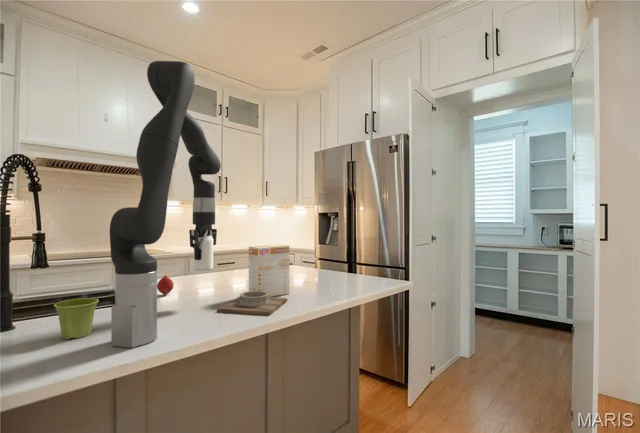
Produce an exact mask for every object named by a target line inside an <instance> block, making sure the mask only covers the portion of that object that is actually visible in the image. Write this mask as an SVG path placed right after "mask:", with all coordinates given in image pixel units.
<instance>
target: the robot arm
mask: <svg viewBox="0 0 640 433" xmlns="http://www.w3.org/2000/svg"><path fill="white" fill-rule="evenodd" d="M146 73H147V74H146V75H147V76H146V77H147V80H148V81H147V82H148V85H149V87H150V88H151V90H152V92H153V94H154V95H155V97H156V99H157V100H158V102H159V103H160V104H161V106H162V108H161V110H159V111H158V112H157V114H155V116H153V117H151V119H150V120H149V121H148V122H147V123H146V125H145V126H144V127H143V129H142V131H141V133H140V137H139V142H138V144H137V147H136V148H137V149H136V155H135V156H136V163H137V168H138V170H139V173H140V176H141V182H142V189H141V193H140V197H139V198H140V200H139V202H138V205H137V206H134V207H133V206H132V207H129V206H128V207H123V208H119V209H118V210H116V211H115V212H114V214H113V215H112V217H111V220H110V223H109V245H110V258H111V261H112V263H113V266H114V305H112V306H111V321H110V322H111V329H110V330H111V331H110V332H111V336H110V338H111V344H110V345H111V347H120V348H129V349H131V348H132V349H133V348H136V347H139V346H143V345H147V344H149V343H152V342H154V341H155V340H156V339H157V337H158V288H157V284H158V261H157V259H156V258H155V257H153V256H152V255H151V254H149V253H148V251H147V249H146V245H147V246H148V245H154V244H155V243H157V242H158V241H160V239H161V237H162V235H163V233H164V230H165V227H166V220H167V211H168V210H167V209H168V198H169V191H170V186H171V180H172V175H173V170H174V166H175V162H176V158H177V154H178V150H179V143H180V138H181V140H182V143H183V144H184V146H185V148H186V151H187V152H188V153H189V154H190V155H191V156H190V157H189V158H188V164H187V165H188V170H189V172H190V175H191V181H192V185H193V199H192V200H193V201H192V225H193V226H194V225H195V228H194V229H189V231H188V232H189V246H190V248H192V249H193V260H194V259H195V260H201V253H202V249H201V248H202V243H203V242H204V239H205V235H212V238H213V247H214V246H216V245H217V233H218V230H217V228H213V226H214V225H216V201H215V200H216V199H215V198H216V196H215V195H216V186H215V182H212V181H210V180H205V179H203V177H202V176H203V175H205V176H206V175H208V176H209V175H217V174H218V173H219V172H220V170H221V167H222V166H221V160H220V158H219V156H218V155H217V154H216V152H215V150H214V149H213V148H212V147H211V146H210V144H209V143H208V141H207V139H206V138H207V137H206V136H205V133H204V130H203V128H202V126H201V124H200V123H199V122H198V121H197V120H196V119H195V118H194V116H192V115H191V114H190V113H189V112H188V107H189V105H190V102H191V100H192V96H193V93H194V88H195V82H196V81H195V74H194V73H195V72H194V69H193V67H192V66H191V65H190V64H189V63H187V62H184V61H179V60H169V61H168V60H155V61H151V62H150V63H149V65H148V67H147V70H146ZM198 237H202V239H201V240H198ZM198 242H200V243H198Z"/></svg>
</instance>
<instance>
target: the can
mask: <svg viewBox="0 0 640 433" xmlns="http://www.w3.org/2000/svg"><path fill="white" fill-rule="evenodd" d="M201 239H202V237H198V240H201ZM213 240H214V239H213V238H212V235H205V239H204V242H203V243H202V248H201V249H202V253H201V260H195V259H194V258H193V270H194V271H196V272H198V271H199V272H201V271H202V272H203V271H210V270H212V269H214V246H213ZM198 243H200V242H198Z"/></svg>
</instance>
